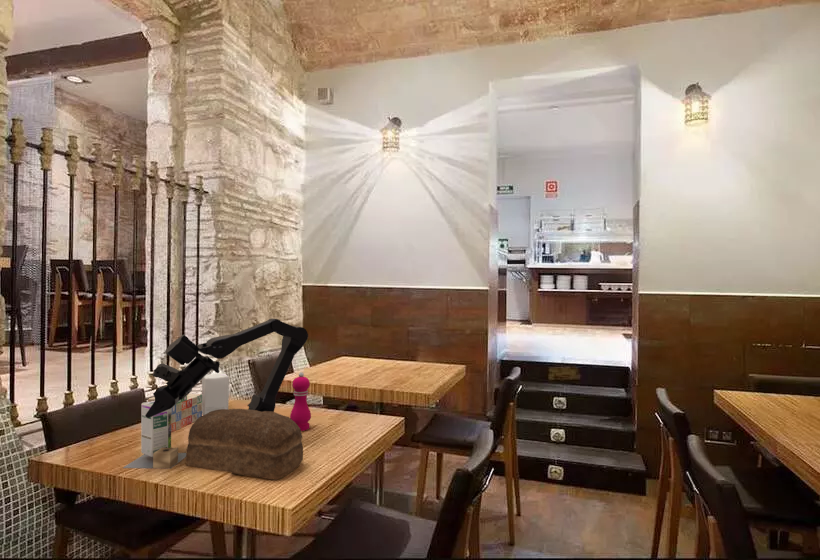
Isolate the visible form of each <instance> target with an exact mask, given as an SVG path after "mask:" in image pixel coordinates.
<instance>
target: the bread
mask: <svg viewBox="0 0 820 560" xmlns="http://www.w3.org/2000/svg"><path fill="white" fill-rule="evenodd" d="M248 409H249V408H246V409H245V408H228V409H219V410H214V411H211V412H209V413H207V414H205V415H203V414H202V416H201V417H199V418H198V419H197V420H196V421H195V422H193V423H192V425H191V426H190V428H189V432H188V435H187V436H188V437H187V440H188V441H187V442H188V443H187V447H186V452H185V453H186V457H185V458H186V459H185V461H186V466H187V467H188V466H189V467H194V468H199V469H204V470H205V469H206V470H213V471H214V470H215V471H218V472H226V473H231V474H233V475H239V476H244V477H245V476H247V477H254V478H264V479H268V480H280V479H282V478H284V477H286V476H287V475H289V474H290V473H291V472H294V470H296V469H297V468H299V466H300V464H301V463H302V462H303V459H304V446H303V443H302V440H303V433H302V431H301V430H300V428H299V427H298V425H297V424H296V423H295V422H294V421H293V420H292V419H290V416H287V415H283V414H280V413H278V412H275V411H274V412H273V411H264V412H261V411H257V410H248Z"/></svg>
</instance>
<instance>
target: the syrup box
mask: <svg viewBox="0 0 820 560" xmlns="http://www.w3.org/2000/svg"><path fill="white" fill-rule="evenodd" d="M154 402H155V401H151V402H148V401H147V402H142V403H141V417H140V418H141V423H140V424H141V428H140V431H141V433H140V434H141V435H140V436H141V437H140V438H141V439H140V440H141V442H140V443H141V448H140V450H141V451H140V452H141V454H142V455H144V454H145V455H148V456H151V457H153V453H155V452H156V451H158V450H159V449H161V448H172V432H171V409H168V410H166V411H163V412H161V413H159V414H156V415H154V416H152V417H150V418H147V417H146V416H145V415H146V413H147V412H148V411H149V409H150V408H151V406H152V405H153V403H154Z"/></svg>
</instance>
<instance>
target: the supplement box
mask: <svg viewBox="0 0 820 560" xmlns="http://www.w3.org/2000/svg"><path fill="white" fill-rule="evenodd" d="M229 384H230V376H228V374H226V373H211V374H209V373H208V374H207V375H205V376H204V377H203V378H202V379H201V394H202V416H203V415H205V414H207V413H209V412H211V411H214V410H219V409H229V401H230V400H229V397H230V396H229V395H230V390H229V389H230V385H229Z"/></svg>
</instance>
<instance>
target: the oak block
mask: <svg viewBox="0 0 820 560" xmlns="http://www.w3.org/2000/svg"><path fill="white" fill-rule="evenodd" d="M178 453H179V447H171V448H161V449H159V450H158V451H156V452H155V453H153V468H152V469H158V468H171V467H172V466H173V467H175V466H176V465H177V464H179V463H178ZM176 463H177V464H176ZM175 464H176V465H175ZM174 465H175V466H174ZM173 467H172V468H173ZM172 468H171V469H172Z"/></svg>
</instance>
